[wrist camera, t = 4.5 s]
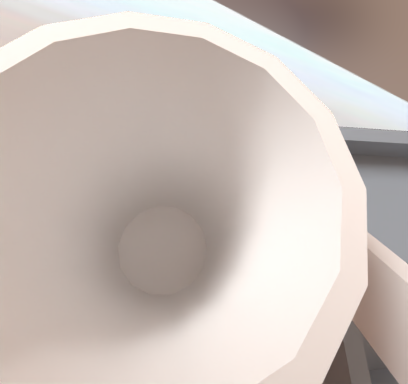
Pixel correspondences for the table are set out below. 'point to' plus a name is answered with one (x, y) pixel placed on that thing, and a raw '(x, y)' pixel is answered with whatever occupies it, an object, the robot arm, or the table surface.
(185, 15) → the table surface
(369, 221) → the tray
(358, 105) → the table surface
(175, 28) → the foam cup
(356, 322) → the robot arm
